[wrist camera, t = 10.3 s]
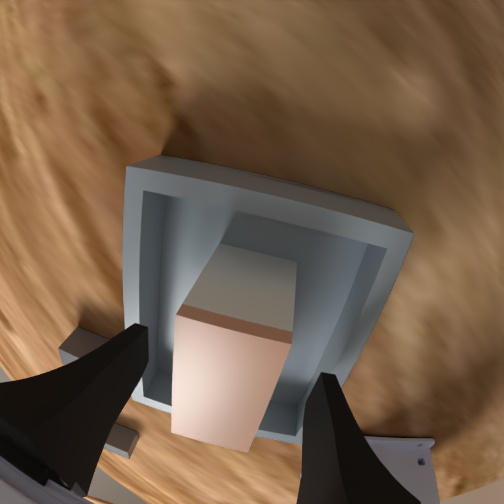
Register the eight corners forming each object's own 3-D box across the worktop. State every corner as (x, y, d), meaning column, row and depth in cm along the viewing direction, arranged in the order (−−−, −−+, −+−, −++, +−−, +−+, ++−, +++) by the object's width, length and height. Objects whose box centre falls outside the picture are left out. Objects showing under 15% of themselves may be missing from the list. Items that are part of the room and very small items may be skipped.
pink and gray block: (296, 261, 14) (291, 344, 9) (263, 370, 17) (247, 452, 12) (219, 243, 14) (175, 314, 9) (202, 355, 17) (171, 432, 12)
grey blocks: (126, 345, 19) (109, 371, 16) (138, 439, 24) (129, 459, 22) (77, 326, 19) (58, 348, 17) (101, 423, 24) (91, 442, 22)
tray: (392, 209, 13) (414, 233, 10) (306, 407, 19) (304, 444, 16) (159, 154, 13) (126, 165, 11) (150, 367, 19) (132, 399, 16)
